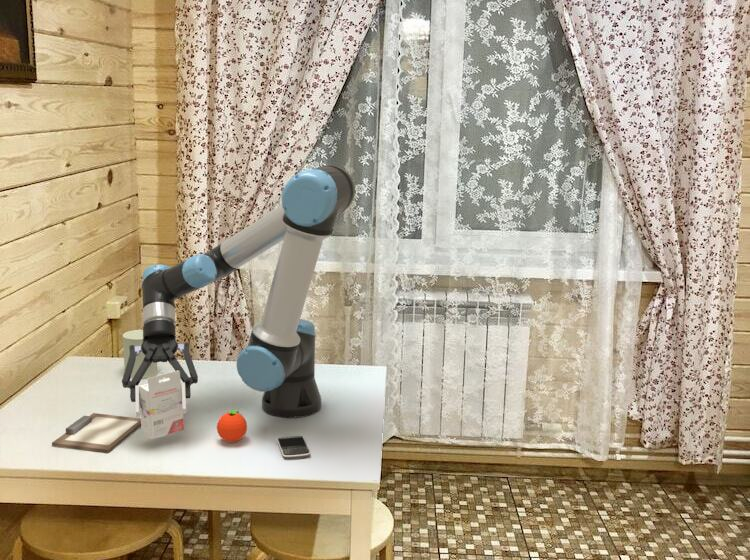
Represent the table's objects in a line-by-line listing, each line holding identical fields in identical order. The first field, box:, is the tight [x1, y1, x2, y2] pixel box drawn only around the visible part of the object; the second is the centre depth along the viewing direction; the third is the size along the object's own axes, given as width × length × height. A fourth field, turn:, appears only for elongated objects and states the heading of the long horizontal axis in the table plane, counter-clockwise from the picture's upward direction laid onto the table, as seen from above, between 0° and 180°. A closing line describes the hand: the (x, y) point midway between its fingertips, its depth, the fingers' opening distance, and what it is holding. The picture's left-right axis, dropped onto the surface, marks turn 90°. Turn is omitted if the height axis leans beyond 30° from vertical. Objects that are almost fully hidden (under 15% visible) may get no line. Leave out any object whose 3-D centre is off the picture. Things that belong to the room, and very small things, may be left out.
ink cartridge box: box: [138, 370, 185, 440], centre depth 198 cm, size 9×5×15 cm, turn 132°
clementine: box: [216, 410, 248, 443], centre depth 201 cm, size 8×7×7 cm
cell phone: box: [276, 435, 311, 460], centre depth 198 cm, size 6×11×1 cm, turn 15°
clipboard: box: [51, 412, 141, 454], centre depth 203 cm, size 14×18×2 cm
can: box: [122, 329, 159, 380], centre depth 242 cm, size 9×9×12 cm
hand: (161, 412), depth 195 cm, fingers closed on ink cartridge box, 9 cm apart
